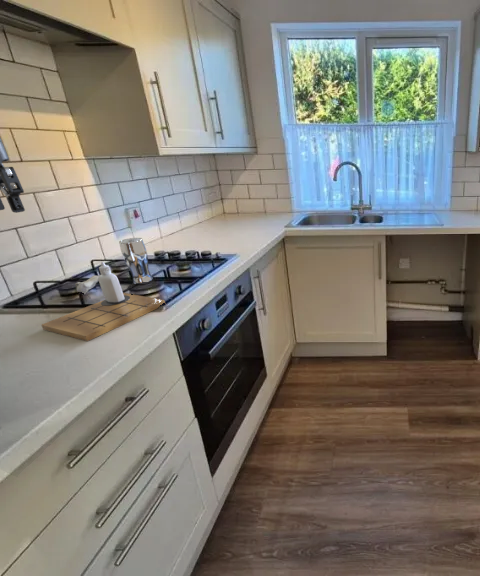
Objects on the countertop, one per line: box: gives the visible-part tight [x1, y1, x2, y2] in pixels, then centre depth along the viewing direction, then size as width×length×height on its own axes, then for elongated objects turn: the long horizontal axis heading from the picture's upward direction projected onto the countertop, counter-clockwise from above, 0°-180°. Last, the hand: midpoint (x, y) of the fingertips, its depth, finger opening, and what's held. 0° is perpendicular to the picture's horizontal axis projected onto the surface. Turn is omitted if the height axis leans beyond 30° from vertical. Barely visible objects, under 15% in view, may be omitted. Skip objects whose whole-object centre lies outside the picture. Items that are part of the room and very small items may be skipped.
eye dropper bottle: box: [98, 261, 125, 303], centre depth 105 cm, size 4×6×12 cm
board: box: [41, 292, 166, 342], centre depth 101 cm, size 22×18×2 cm
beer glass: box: [118, 237, 154, 285], centre depth 123 cm, size 7×7×15 cm
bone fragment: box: [74, 275, 100, 295], centre depth 120 cm, size 5×11×4 cm, turn 18°
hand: (9, 211), depth 89 cm, fingers open, 8 cm apart
